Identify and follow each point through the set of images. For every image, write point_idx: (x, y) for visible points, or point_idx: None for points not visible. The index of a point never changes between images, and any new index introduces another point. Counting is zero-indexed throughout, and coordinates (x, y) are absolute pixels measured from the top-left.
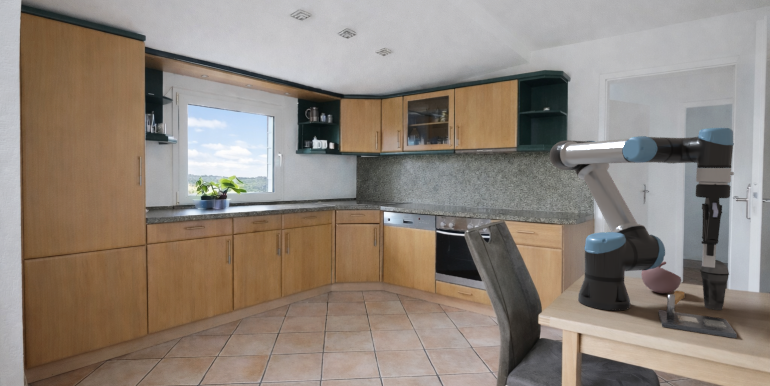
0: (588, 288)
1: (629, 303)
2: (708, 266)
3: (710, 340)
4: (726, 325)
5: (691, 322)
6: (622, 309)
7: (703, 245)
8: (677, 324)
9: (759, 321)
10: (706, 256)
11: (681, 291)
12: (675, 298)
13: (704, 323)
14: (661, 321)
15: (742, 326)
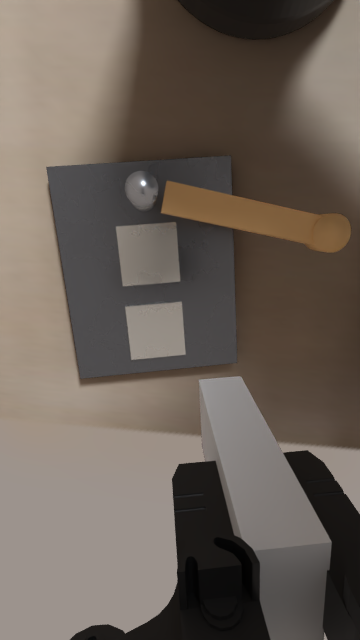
0: None
1: (241, 24)
2: (200, 413)
3: (7, 308)
4: (158, 360)
5: (120, 264)
6: (182, 2)
7: (279, 516)
8: (60, 219)
9: (308, 437)
10: (211, 450)
11: (342, 241)
12: (192, 211)
13: (137, 302)
14: (80, 165)
15: None
